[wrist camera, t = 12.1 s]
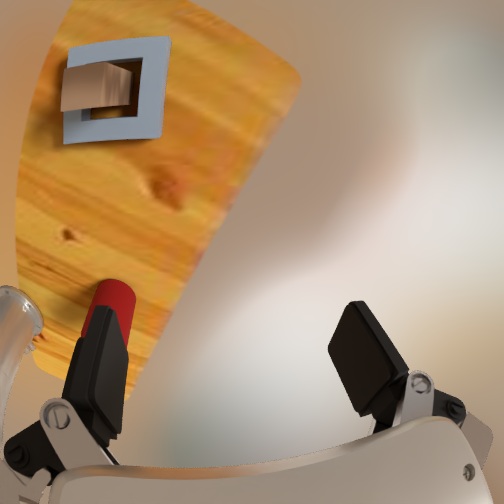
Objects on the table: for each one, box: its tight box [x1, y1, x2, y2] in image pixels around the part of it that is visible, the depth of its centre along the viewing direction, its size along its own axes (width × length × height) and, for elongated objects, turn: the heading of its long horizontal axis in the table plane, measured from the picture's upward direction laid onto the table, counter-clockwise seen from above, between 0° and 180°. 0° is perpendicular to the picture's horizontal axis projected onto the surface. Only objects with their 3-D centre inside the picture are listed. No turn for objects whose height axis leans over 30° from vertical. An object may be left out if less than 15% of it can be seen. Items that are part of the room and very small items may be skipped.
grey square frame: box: [63, 36, 172, 144], centre depth 24 cm, size 12×12×3 cm
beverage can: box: [81, 280, 136, 349], centre depth 34 cm, size 7×7×12 cm
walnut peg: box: [61, 62, 135, 112], centre depth 20 cm, size 4×4×11 cm
